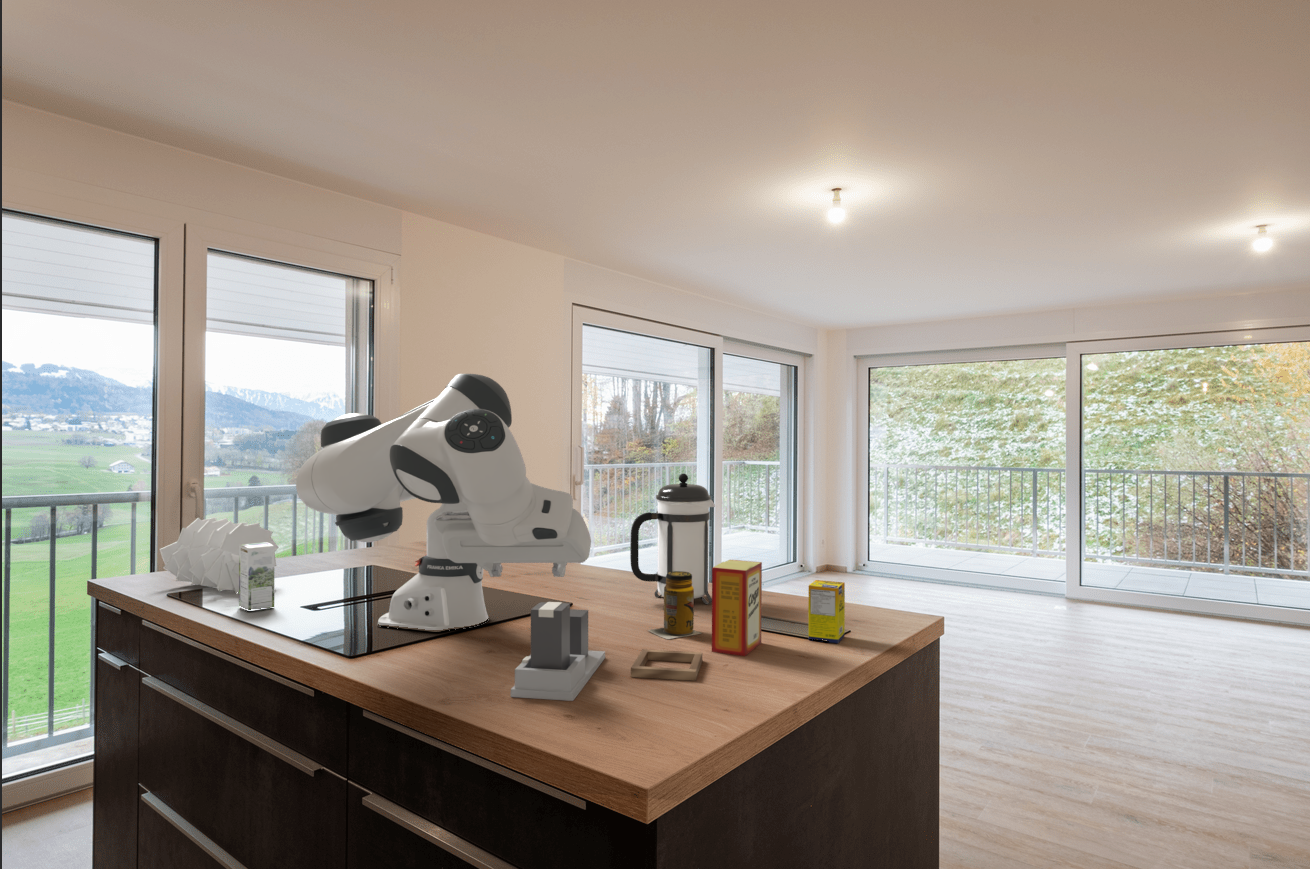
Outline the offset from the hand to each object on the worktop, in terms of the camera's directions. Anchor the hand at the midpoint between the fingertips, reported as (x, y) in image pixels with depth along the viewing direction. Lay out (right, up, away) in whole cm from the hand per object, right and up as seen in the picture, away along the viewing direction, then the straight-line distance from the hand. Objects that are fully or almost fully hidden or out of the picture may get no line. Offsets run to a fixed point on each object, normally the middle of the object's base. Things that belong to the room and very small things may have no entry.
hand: (528, 573), depth 117 cm
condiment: (+22, -20, +46) cm, 55 cm away
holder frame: (+21, -20, +23) cm, 37 cm away
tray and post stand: (+3, -20, +18) cm, 28 cm away
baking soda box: (+34, -20, +36) cm, 53 cm away
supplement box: (+52, -20, +42) cm, 70 cm away
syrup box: (-71, -19, +64) cm, 97 cm away
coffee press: (+24, -19, +73) cm, 79 cm away
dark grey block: (+2, -19, +12) cm, 23 cm away
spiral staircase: (-90, -19, +84) cm, 125 cm away
